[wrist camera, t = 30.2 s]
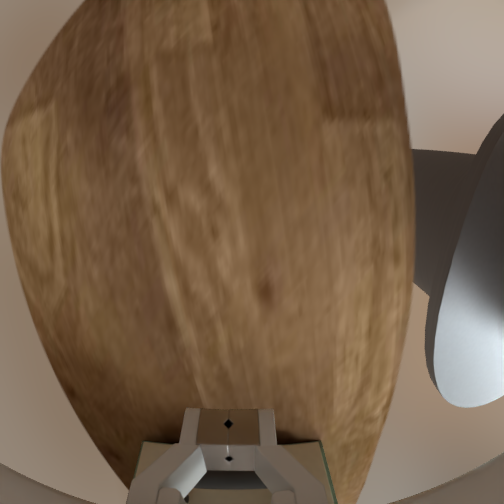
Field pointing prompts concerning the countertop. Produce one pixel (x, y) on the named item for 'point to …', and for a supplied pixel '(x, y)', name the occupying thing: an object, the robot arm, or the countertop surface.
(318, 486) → the robot arm
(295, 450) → the drawer
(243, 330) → the countertop surface
